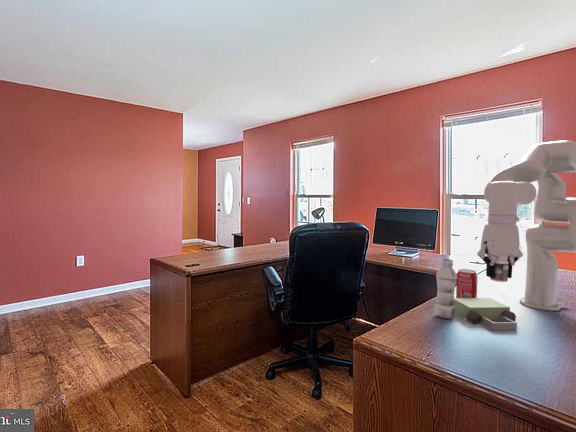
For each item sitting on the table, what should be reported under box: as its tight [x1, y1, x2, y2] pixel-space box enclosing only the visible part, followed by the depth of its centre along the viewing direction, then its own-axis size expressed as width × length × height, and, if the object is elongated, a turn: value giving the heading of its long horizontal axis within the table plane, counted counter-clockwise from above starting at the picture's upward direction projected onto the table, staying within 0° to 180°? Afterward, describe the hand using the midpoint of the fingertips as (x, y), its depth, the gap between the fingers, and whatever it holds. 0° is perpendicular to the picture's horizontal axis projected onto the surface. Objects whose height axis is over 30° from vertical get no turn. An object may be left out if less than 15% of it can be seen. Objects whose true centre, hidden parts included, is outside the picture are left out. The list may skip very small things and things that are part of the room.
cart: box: [454, 297, 518, 332], centre depth 111 cm, size 16×19×5 cm
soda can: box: [455, 268, 478, 298], centre depth 128 cm, size 7×7×13 cm
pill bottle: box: [489, 256, 509, 283], centre depth 104 cm, size 5×5×8 cm
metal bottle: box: [434, 258, 457, 320], centre depth 112 cm, size 6×7×20 cm
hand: (498, 276), depth 104 cm, fingers closed on pill bottle, 4 cm apart
